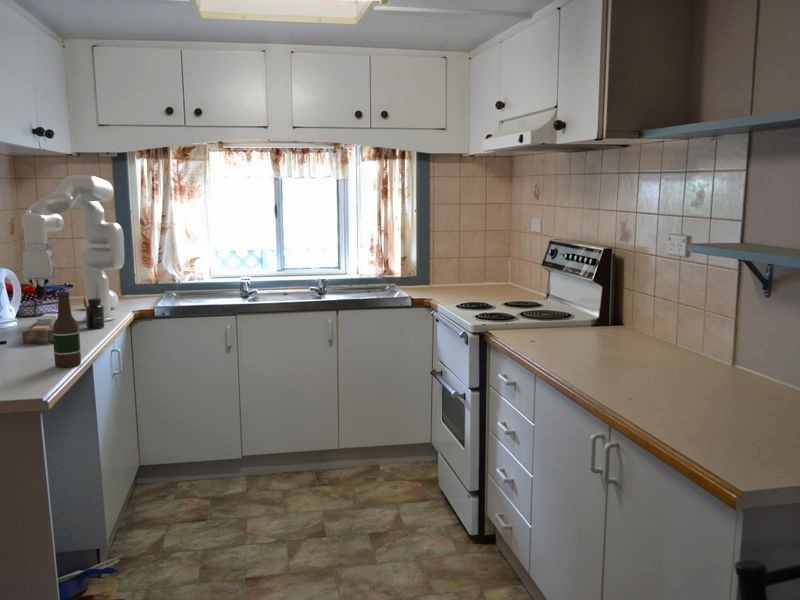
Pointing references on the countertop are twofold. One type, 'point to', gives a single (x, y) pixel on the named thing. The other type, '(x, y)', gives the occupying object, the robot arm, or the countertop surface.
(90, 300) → the supplement bottle
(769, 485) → the countertop surface
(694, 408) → the countertop surface
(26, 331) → the key console
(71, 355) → the beer bottle
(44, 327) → the terracotta key
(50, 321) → the slate key
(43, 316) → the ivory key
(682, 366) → the countertop surface
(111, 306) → the potion bottle
